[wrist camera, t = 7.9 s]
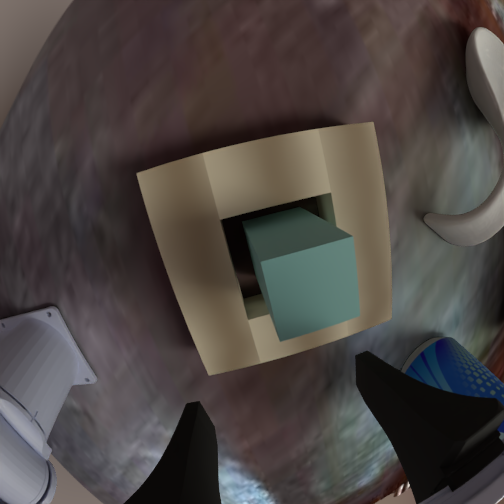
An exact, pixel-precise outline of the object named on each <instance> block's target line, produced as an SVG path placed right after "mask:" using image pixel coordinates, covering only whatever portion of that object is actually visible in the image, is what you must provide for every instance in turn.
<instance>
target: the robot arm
mask: <svg viewBox="0 0 504 504" xmlns="http://www.w3.org/2000/svg"><path fill="white" fill-rule="evenodd" d="M49 312H50V313H51V315H50V314H49ZM355 359H356V385H357V387H358V389H359V391H360V393H361V395H362V397H363V399H364V401H365V403H366V405H367V406H368V408H369V409H370V411H371V412H372V414H373V415H374V417H375V418H376V420H377V421H378V422H379V424H380V425H381V427H382V428H383V430H384V431H385V433H386V435H387V436H388V438H389V440H390V441H391V443H392V445H393V447H394V450H395V452H396V454H397V456H398V458H399V460H400V462H401V465H402V467H403V469H404V471H405V474H406V476H407V479H408V481H409V484H410V487H411V489H412V492H413V495H414V498H415V501H416V504H497V503H498V502H499V501H500V500H501V499H502V498H503V497H504V439H503V440H501V439H500V438H499V437H500V435H501V433H500V432H499V431H498V430H497V429H498V428H499V426H500V425H501V423H502V422H503V420H504V405H503V404H502V403H501V402H500V401H499V400H498V399H496V398H487V397H474V396H467V395H461V394H457V393H453V392H449V391H445V390H442V389H438V388H436V387H433V386H430V385H428V384H425V383H423V382H421V381H419V380H416V379H414V378H412V377H410V376H408V375H406V374H405V373H403V372H401V371H399V370H398V369H396V368H394V367H392V366H391V365H389V364H388V363H386V362H384V361H383V360H381V359H380V358H378V357H377V356H375V355H374V354H372V353H371V352H369V351H365V352H363V353H360V354H358V355H355ZM87 378H88V379H87ZM96 381H97V377H96V375H95V374H94V372H93V371H92V369H91V368H90V366H89V364H88V363H87V361H86V359H85V358H84V356H83V354H82V353H81V351H80V349H79V348H78V346H77V344H76V342H75V341H74V339H73V337H72V335H71V333H70V331H69V330H68V328H67V326H66V324H65V322H64V320H63V318H62V316H61V314H60V312H59V310H58V309H57V308H56V307H55V306H51V307H47V308H43V309H39V310H36V311H32V312H28V313H24V314H20V315H17V316H13V317H9V318H5V319H1V320H0V504H50V503H51V501H52V499H53V497H54V494H55V491H56V485H57V477H56V472H55V469H54V467H53V465H52V463H51V462H50V461H49V460H48V459H49V456H50V454H51V451H52V449H51V448H50V447H49V446H48V445H47V443H46V441H47V439H48V436H49V434H50V432H51V429H52V427H53V425H54V422H55V420H56V418H57V416H58V414H59V411H60V409H61V407H62V405H63V403H64V401H65V399H66V397H67V395H68V393H69V391H70V388H71V386H72V385H80V384H92V383H96ZM124 504H221V499H220V493H219V481H218V447H217V439H216V432H215V426H214V425H213V423H212V421H211V420H210V418H209V416H208V415H207V413H206V411H205V410H204V408H203V406H202V405H201V403H200V401H197V402H191V403H187V404H186V405H185V408H184V410H183V413H182V415H181V418H180V420H179V423H178V425H177V427H176V430H175V432H174V434H173V436H172V438H171V440H170V442H169V444H168V446H167V448H166V450H165V452H164V454H163V456H162V457H161V459H160V461H159V462H158V464H157V465H156V467H155V468H154V470H153V471H152V473H151V474H150V475H149V477H148V478H147V479H146V481H145V482H144V483H143V484H142V485H141V487H140V488H139V489H138V490H137V491H136V492H135V493H134V494H133V495H132V496H131V497H130V498H129V499H128V500H127V501H126V502H125V503H124Z"/></svg>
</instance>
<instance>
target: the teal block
mask: <svg viewBox="0 0 504 504" xmlns="http://www.w3.org/2000/svg"><path fill="white" fill-rule="evenodd" d="M242 224H243V228H244V232H245V236H246V240H247V244H248V248H249V252H250V255H251V259H252V263H253V267H254V271H255V275H256V278H257V281H258V284H259V286H260V289H261V292H262V295H263V297H264V300H265V303H266V305H267V308H268V311H269V314H270V316H271V319H272V322H273V325H274V327H275V330H276V333H277V335H278V338H279V341H280V342H282V341H286V340H289V339H292V338H296V337H299V336H302V335H305V334H309V333H312V332H315V331H318V330H321V329H324V328H327V327H330V326H333V325H336V324H339V323H342V322H345V321H347V320H350V319H353V318H356V317H359V316H360V304H359V289H358V277H357V266H356V256H355V247H354V239H353V236H352V235H350V234H348V233H347V232H345V231H343V230H341V229H339V228H338V227H336V226H334V225H332V224H331V223H329V222H327V221H325V220H323V219H321V218H320V217H318V216H316V215H314V214H312V213H310V212H308V211H307V210H305V209H303V208H301V207H297V208H293V209H289V210H285V211H281V212H277V213H273V214H269V215H265V216H261V217H257V218H253V219H250V220H246V221H242Z"/></svg>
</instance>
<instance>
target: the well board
mask: <svg viewBox="0 0 504 504" xmlns="http://www.w3.org/2000/svg"><path fill="white" fill-rule="evenodd" d="M136 174H137V178H138V182H139V185H140V189H141V192H142V196H143V199H144V203H145V206H146V210H147V213H148V216H149V219H150V223H151V226H152V229H153V232H154V235H155V238H156V241H157V244H158V247H159V250H160V253H161V256H162V259H163V262H164V265H165V268H166V271H167V274H168V276H169V279H170V282H171V285H172V287H173V290H174V293H175V295H176V298H177V301H178V303H179V306H180V308H181V311H182V313H183V316H184V318H185V321H186V323H187V326H188V328H189V331H190V333H191V336H192V338H193V340H194V343H195V345H196V347H197V350H198V352H199V354H200V357H201V359H202V361H203V363H204V366H205V368H206V370H207V372H208V375H214V374H219V373H223V372H227V371H232V370H236V369H240V368H244V367H248V366H252V365H256V364H260V363H264V362H268V361H271V360H275V359H278V358H282V357H285V356H289V355H292V354H295V353H299V352H302V351H305V350H308V349H312V348H315V347H318V346H321V345H324V344H327V343H330V342H333V341H336V340H338V339H341V338H344V337H347V336H350V335H352V334H355V333H358V332H360V331H363V330H366V329H368V328H371V327H373V326H376V325H379V324H381V323H383V322H386V321H388V320H391V319H392V268H391V247H390V233H389V221H388V211H387V202H386V193H385V186H384V179H383V172H382V166H381V160H380V154H379V148H378V143H377V138H376V133H375V128H374V123H373V122H367V123H358V124H349V125H341V126H333V127H326V128H319V129H313V130H307V131H301V132H295V133H289V134H284V135H278V136H273V137H268V138H263V139H259V140H254V141H249V142H245V143H241V144H236V145H232V146H228V147H224V148H220V149H216V150H212V151H208V152H205V153H201V154H197V155H194V156H190V157H187V158H183V159H180V160H176V161H173V162H170V163H167V164H163V165H160V166H157V167H154V168H151V169H148V170H145V171H142V172H139V173H136ZM313 196H316V201H317V207H318V212H319V217H320V218H321V219H323V220H325V221H327V222H329V223H331V224H332V225H334V226H336V227H338V228H339V229H341V230H343V231H345V232H347V233H348V234H350V235H352V236H353V239H354V247H355V256H356V266H357V277H358V289H359V304H360V316H359V317H356V318H353V319H350V320H347V321H345V322H342V323H339V324H336V325H333V326H330V327H327V328H324V329H321V330H318V331H315V332H312V333H309V334H305V335H302V336H299V337H296V338H292V339H289V340H286V341H282V342H280V341H279V338H278V335H277V333H276V330H275V327H274V325H273V322H272V319H271V316H270V314H269V311H268V308H267V305H266V303H265V300H264V297H263V295H262V294H259V295H255V296H252V297H248V298H244V299H243V296H242V293H241V289H240V286H239V282H238V279H237V275H236V271H235V268H234V264H233V261H232V257H231V253H230V250H229V246H228V242H227V239H226V235H225V231H224V228H223V224H222V220H221V219H225V218H229V217H232V216H236V215H240V214H244V213H248V212H252V211H256V210H260V209H264V208H268V207H272V206H276V205H280V204H284V203H288V202H292V201H296V200H301V199H305V198H309V197H313Z"/></svg>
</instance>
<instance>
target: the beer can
mask: <svg viewBox="0 0 504 504" xmlns="http://www.w3.org/2000/svg"><path fill="white" fill-rule="evenodd" d="M401 372H403V373H405V374H406V375H408V376H410V377H412V378H414V379H416V380H419V381H421V382H423V383H425V384H428V385H430V386H433V387H436V388H438V389H442V390H445V391H449V392H453V393H457V394H461V395H467V396H474V397H487V398H496V399H498V400H499V401H500V402H501V403H502V404H503V405H504V384H503V383H502V382H501V381H500V380H499V379H498V378H497V377H496V376H495V375H493V374H492V373H491V372H490V371H489V370H488V369H487V368H486V367H485V366H484V365H483V364H482V363H480V362H479V361H478V360H477V359H476V358H475V357H474V356H473V355H472V354H470V353H469V352H468V351H467V350H466V349H465V348H464V347H463V346H461V345H460V344H459V343H458V342H457V341H456V340H454V339H453V338H451V337H444V338H441V337H436V338H432V339H430V340H428V341H426V342H424V343H423V344H421V345H420V346H419V347H418V348H417V349H416V350H415V351H414V352H413V353H412V354H411V355H410V356H409V358H408V359H407V361H406V362H405V364H404V366H403V368H402V370H401ZM497 430H498V431H499V432H500V433H501V435H500V437H499V438H500V439H501V440H503V439H504V420H503V422H502V423H501V425H500V426H499V428H498V429H497Z"/></svg>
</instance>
